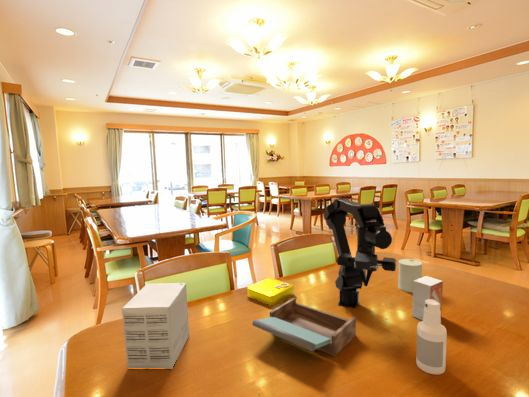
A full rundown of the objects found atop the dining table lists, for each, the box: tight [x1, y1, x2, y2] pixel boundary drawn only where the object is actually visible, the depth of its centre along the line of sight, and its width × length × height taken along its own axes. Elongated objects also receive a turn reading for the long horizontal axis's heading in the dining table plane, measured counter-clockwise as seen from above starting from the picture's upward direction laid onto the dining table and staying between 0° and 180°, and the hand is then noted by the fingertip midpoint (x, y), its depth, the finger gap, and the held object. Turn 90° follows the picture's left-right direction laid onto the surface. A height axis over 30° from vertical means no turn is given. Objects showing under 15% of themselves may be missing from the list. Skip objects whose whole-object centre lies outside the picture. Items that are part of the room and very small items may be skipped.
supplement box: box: [121, 282, 190, 370], centre depth 92 cm, size 17×13×18 cm
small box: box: [411, 275, 444, 321], centre depth 108 cm, size 8×6×13 cm
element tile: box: [246, 277, 295, 306], centre depth 130 cm, size 15×15×5 cm
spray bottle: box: [415, 299, 448, 376], centre depth 82 cm, size 7×7×18 cm
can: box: [397, 258, 423, 294], centre depth 132 cm, size 9×9×12 cm
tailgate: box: [252, 316, 330, 353], centre depth 92 cm, size 2×21×10 cm
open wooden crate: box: [269, 297, 357, 357], centre depth 101 cm, size 14×24×6 cm, turn 49°
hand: (366, 285), depth 107 cm, fingers closed
